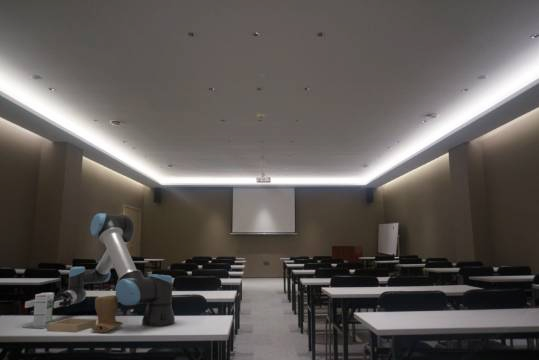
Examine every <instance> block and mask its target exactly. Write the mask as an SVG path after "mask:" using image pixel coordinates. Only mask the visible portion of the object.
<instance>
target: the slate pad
mask: <svg viewBox="0 0 539 360" xmlns="http://www.w3.org/2000/svg"><path fill="white" fill-rule="evenodd" d="M22 329H36V330H37V329H39V330H44V329H47V325H46V326H33V324H29V325H25V326H23V327H22Z"/></svg>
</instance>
